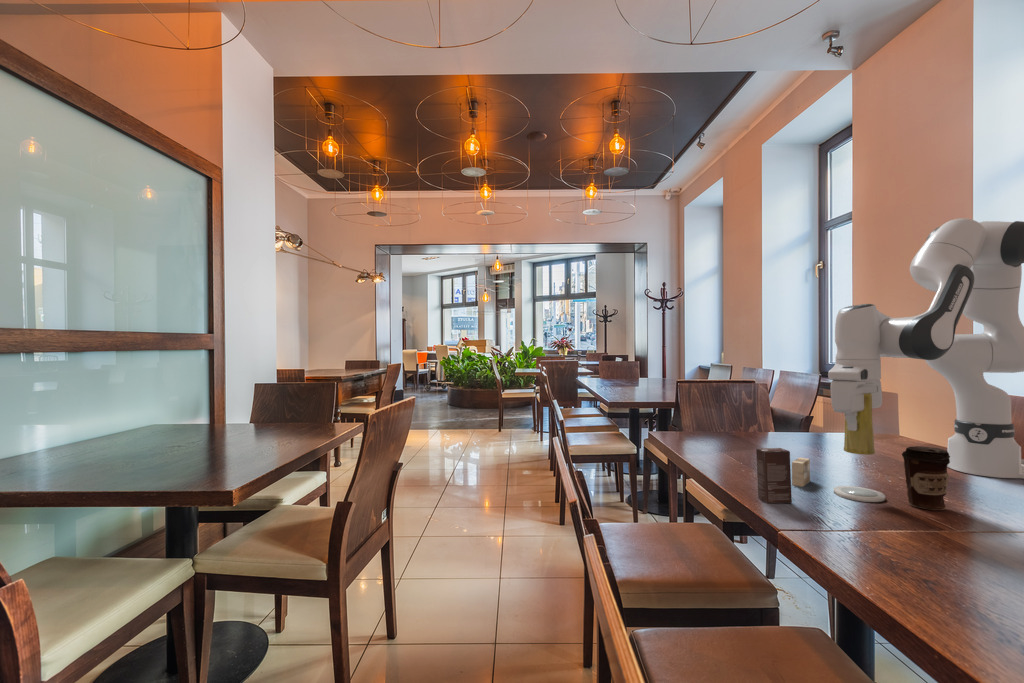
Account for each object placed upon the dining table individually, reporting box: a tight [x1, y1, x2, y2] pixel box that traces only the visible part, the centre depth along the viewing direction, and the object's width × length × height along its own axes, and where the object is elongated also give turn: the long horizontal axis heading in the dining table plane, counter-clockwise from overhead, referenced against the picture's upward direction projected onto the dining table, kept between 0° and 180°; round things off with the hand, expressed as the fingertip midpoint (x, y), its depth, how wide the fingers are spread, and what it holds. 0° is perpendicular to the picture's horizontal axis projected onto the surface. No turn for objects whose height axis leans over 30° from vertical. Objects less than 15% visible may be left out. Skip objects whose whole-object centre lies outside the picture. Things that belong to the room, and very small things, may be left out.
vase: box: [843, 393, 876, 456], centre depth 114 cm, size 6×6×14 cm
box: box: [755, 447, 793, 504], centre depth 111 cm, size 6×4×12 cm
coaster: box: [833, 485, 886, 503], centre depth 114 cm, size 10×10×1 cm
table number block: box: [791, 456, 811, 488], centre depth 124 cm, size 7×3×6 cm, turn 134°
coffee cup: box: [901, 445, 950, 511], centre depth 106 cm, size 9×8×13 cm
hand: (858, 428), depth 114 cm, fingers closed on vase, 5 cm apart
